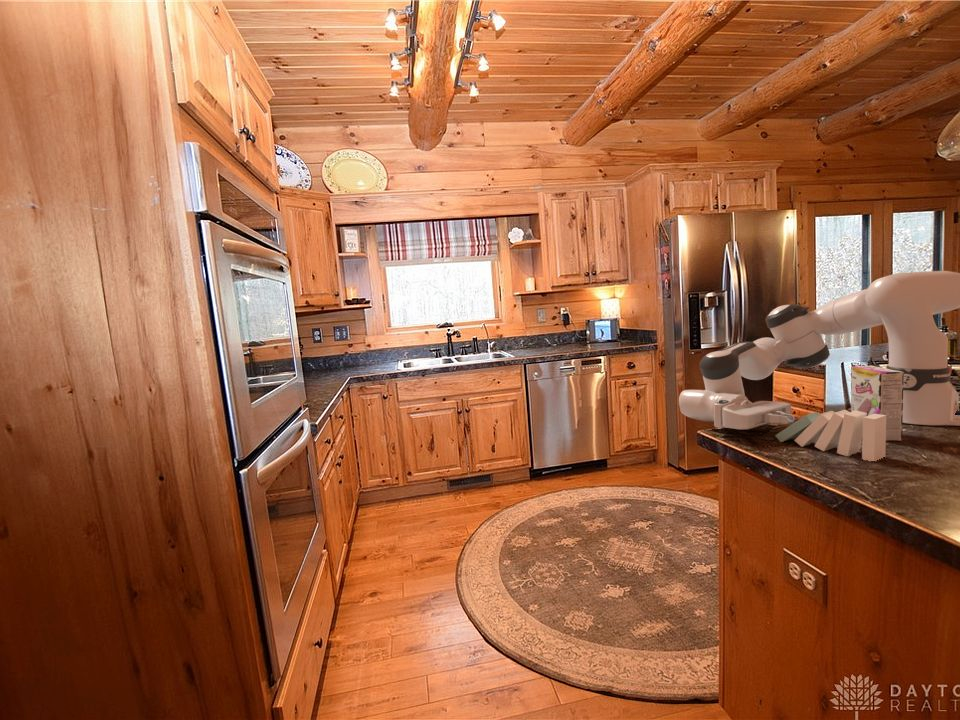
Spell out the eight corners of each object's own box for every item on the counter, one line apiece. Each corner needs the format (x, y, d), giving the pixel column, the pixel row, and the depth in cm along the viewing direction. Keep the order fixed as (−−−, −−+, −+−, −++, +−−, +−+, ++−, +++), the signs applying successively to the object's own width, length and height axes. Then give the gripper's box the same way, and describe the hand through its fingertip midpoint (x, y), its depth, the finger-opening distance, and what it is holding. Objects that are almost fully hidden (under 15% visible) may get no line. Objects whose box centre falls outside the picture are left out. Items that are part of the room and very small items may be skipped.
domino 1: (786, 431, 109) (817, 411, 103) (792, 438, 108) (823, 419, 102) (775, 435, 107) (805, 415, 101) (781, 442, 106) (812, 422, 100)
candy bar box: (848, 429, 113) (849, 365, 112) (871, 428, 112) (872, 365, 111) (878, 441, 102) (880, 371, 101) (903, 441, 101) (905, 371, 100)
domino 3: (825, 442, 102) (845, 409, 98) (835, 447, 101) (855, 414, 97) (814, 446, 100) (833, 413, 96) (823, 451, 98) (843, 418, 94)
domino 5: (873, 454, 94) (874, 413, 93) (885, 457, 93) (886, 415, 92) (862, 459, 92) (862, 417, 91) (874, 462, 90) (875, 419, 89)
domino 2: (805, 436, 106) (832, 410, 100) (813, 442, 104) (840, 416, 99) (794, 440, 103) (820, 413, 98) (801, 446, 102) (829, 420, 97)
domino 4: (848, 448, 98) (855, 410, 96) (859, 451, 97) (867, 413, 95) (836, 453, 96) (844, 414, 94) (847, 456, 94) (855, 416, 92)
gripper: (757, 415, 123) (813, 425, 111) (710, 428, 114) (766, 440, 102) (757, 393, 123) (814, 400, 110) (710, 404, 113) (766, 413, 101)
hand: (790, 419), depth 106 cm, fingers closed
